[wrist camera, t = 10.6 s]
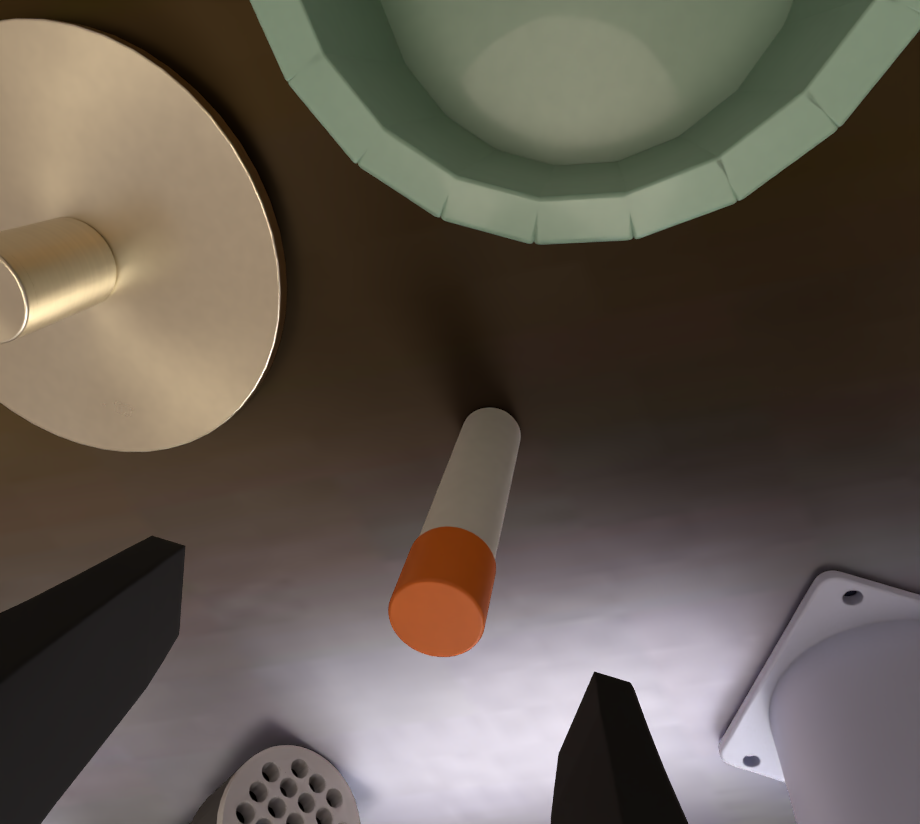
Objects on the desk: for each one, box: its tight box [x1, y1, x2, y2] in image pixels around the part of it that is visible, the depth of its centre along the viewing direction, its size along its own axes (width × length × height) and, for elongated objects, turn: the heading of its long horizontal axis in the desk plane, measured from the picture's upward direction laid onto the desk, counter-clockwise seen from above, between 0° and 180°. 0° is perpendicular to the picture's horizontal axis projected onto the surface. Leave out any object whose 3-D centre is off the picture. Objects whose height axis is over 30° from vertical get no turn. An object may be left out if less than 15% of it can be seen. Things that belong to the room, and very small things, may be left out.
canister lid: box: [0, 18, 287, 452], centre depth 18 cm, size 12×12×4 cm
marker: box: [388, 408, 521, 657], centre depth 17 cm, size 2×2×8 cm
